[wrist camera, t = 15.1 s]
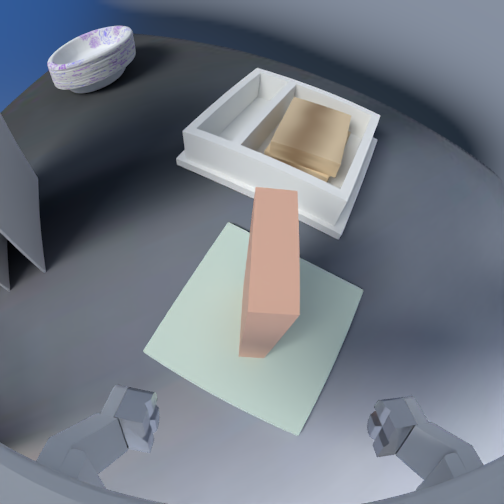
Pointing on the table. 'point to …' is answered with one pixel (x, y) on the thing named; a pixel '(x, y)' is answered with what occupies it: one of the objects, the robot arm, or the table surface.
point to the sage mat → (228, 336)
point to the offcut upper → (311, 136)
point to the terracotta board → (270, 272)
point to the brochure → (18, 206)
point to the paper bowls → (92, 59)
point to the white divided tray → (259, 137)
